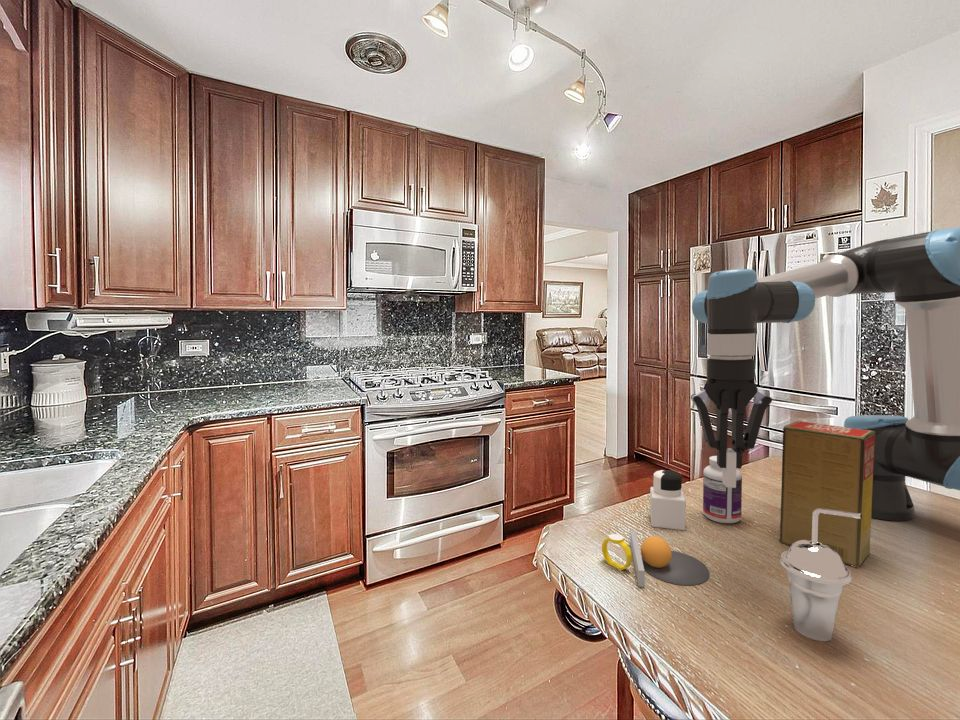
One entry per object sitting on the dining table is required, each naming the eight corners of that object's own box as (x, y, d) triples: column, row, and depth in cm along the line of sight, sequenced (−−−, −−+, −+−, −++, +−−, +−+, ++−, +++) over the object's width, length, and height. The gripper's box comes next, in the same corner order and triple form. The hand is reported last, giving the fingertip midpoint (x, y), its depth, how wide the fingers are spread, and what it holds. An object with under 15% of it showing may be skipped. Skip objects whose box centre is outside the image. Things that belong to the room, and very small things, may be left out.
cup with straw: (812, 609, 70) (817, 489, 68) (869, 650, 61) (875, 513, 59) (764, 615, 69) (768, 492, 67) (815, 657, 60) (820, 518, 58)
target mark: (700, 554, 87) (700, 553, 87) (717, 589, 76) (717, 588, 76) (637, 548, 90) (637, 547, 90) (644, 581, 79) (644, 580, 79)
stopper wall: (635, 543, 92) (635, 529, 92) (644, 587, 77) (644, 571, 77) (630, 543, 93) (630, 529, 92) (638, 586, 77) (638, 570, 77)
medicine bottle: (681, 517, 104) (682, 469, 103) (685, 531, 97) (686, 479, 96) (650, 514, 106) (650, 466, 106) (651, 527, 100) (651, 476, 99)
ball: (652, 563, 86) (675, 548, 85) (656, 579, 81) (680, 563, 80) (633, 541, 87) (656, 526, 86) (636, 555, 82) (660, 539, 80)
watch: (600, 564, 85) (598, 534, 85) (608, 559, 87) (606, 529, 87) (626, 575, 81) (624, 543, 80) (635, 569, 82) (633, 538, 82)
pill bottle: (731, 511, 107) (732, 454, 106) (748, 525, 99) (749, 464, 98) (697, 510, 108) (698, 453, 107) (711, 525, 100) (712, 464, 99)
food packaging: (871, 552, 87) (877, 429, 85) (859, 569, 81) (865, 438, 79) (793, 529, 97) (796, 419, 95) (777, 542, 92) (780, 426, 90)
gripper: (763, 355, 80) (761, 479, 82) (686, 356, 83) (686, 476, 85) (780, 358, 73) (777, 494, 74) (696, 359, 76) (695, 490, 78)
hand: (729, 484), depth 80 cm, fingers closed
